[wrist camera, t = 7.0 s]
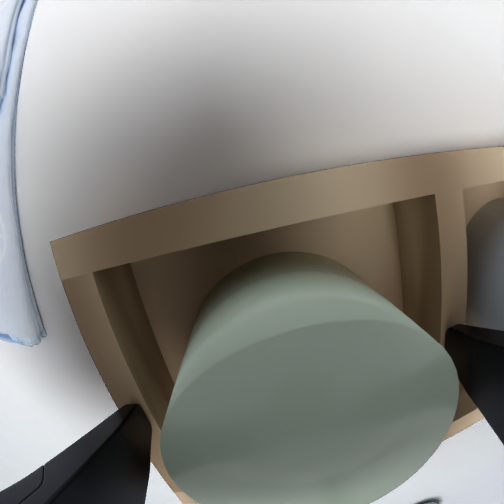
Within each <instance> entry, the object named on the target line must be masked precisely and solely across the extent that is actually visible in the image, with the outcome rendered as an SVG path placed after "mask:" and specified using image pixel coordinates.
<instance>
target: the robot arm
mask: <svg viewBox="0 0 504 504" xmlns="http://www.w3.org/2000/svg"><path fill="white" fill-rule="evenodd" d="M445 350H446V351H447V353H448V354H449V355H450V357H451V358H452V361H453V363H454V365H455V368H456V371H457V375H458V379H459V381H460V383H461V384H462V386H463V388H464V389H465V391H466V393H467V394H468V395H469V397H470V398H471V400H472V401H473V402H474V404H475V405H476V406H477V408H478V409H479V411H480V412H481V413H482V415H483V416H484V417H485V419H486V420H487V422H488V423H489V424H490V426H491V427H492V429H493V430H494V432H495V433H496V434H497V436H498V437H499V439H500V440H501V442H502V443H503V445H504V331H502V330H495V329H489V328H483V327H476V326H470V325H464V324H456V325H454V326H451V327H449V328H448V329H447V331H446V338H445ZM151 441H152V426H151V424H150V422H149V420H148V418H147V416H146V414H145V412H144V411H143V409H142V407H141V406H140V405H139V404H137V403H134V404H125V405H124V406H122V407H121V408H120V409H119V410H117V411H116V412H115V413H113V414H112V415H111V416H109V417H108V418H107V419H105V420H104V421H103V422H101V423H100V424H99V425H98V426H96V427H95V428H94V429H92V430H91V431H90V432H88V433H87V434H85V435H84V436H83V437H81V438H80V439H79V440H77V441H76V442H75V443H73V444H72V445H71V446H69V447H68V448H66V449H65V450H64V451H62V452H61V453H60V454H58V455H57V456H55V457H54V458H53V459H51V460H50V461H48V462H47V463H46V464H45V465H44V466H41V467H40V468H38V469H37V470H36V471H34V472H33V473H31V474H30V475H28V476H27V477H25V478H23V479H22V480H20V481H18V482H17V483H15V484H13V485H12V486H10V487H8V488H6V489H4V490H2V491H1V492H0V504H145V499H146V492H147V486H148V480H149V473H150V458H151Z"/></svg>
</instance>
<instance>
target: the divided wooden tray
mask: <svg viewBox="0 0 504 504" xmlns="http://www.w3.org/2000/svg"><path fill="white" fill-rule="evenodd" d="M497 198H504V146H503V147H490V148H478V149H467V150H457V151H448V152H439V153H430V154H422V155H415V156H407V157H400V158H393V159H386V160H380V161H373V162H367V163H361V164H355V165H349V166H343V167H338V168H332V169H326V170H321V171H316V172H311V173H305V174H300V175H295V176H290V177H286V178H281V179H276V180H271V181H267V182H262V183H258V184H253V185H249V186H244V187H240V188H236V189H231V190H227V191H223V192H219V193H215V194H211V195H207V196H203V197H199V198H195V199H191V200H187V201H183V202H179V203H176V204H172V205H168V206H165V207H161V208H157V209H154V210H150V211H147V212H143V213H140V214H136V215H133V216H129V217H126V218H123V219H119V220H116V221H113V222H109V223H106V224H103V225H100V226H97V227H93V228H90V229H87V230H84V231H81V232H78V233H75V234H72V235H69V236H66V237H63V238H60V239H57V240H54V241H51V242H50V245H51V248H52V252H53V255H54V259H55V262H56V265H57V268H58V272H59V275H60V278H61V281H62V284H63V287H64V290H65V293H66V295H67V298H68V301H69V304H70V306H71V309H72V312H73V314H74V317H75V319H76V322H77V324H78V327H79V329H80V332H81V334H82V336H83V339H84V341H85V343H86V346H87V348H88V350H89V352H90V354H91V357H92V359H93V361H94V363H95V365H96V367H97V369H98V371H99V373H100V375H101V377H102V379H103V381H104V383H105V385H106V387H107V389H108V391H109V393H110V395H111V397H112V398H113V400H114V402H115V404H116V406H117V408H118V409H120V408H121V407H122V406H124V405H125V404H134V403H137V404H139V405H140V406H141V407H142V409H143V411H144V412H145V414H146V416H147V418H148V420H149V422H150V424H151V426H152V441H151V458H150V460H151V462H152V463H153V465H154V466H155V468H156V469H157V470H158V472H159V473H160V475H161V476H162V477H163V479H164V480H165V481H166V483H167V484H168V485H169V487H170V488H171V489H172V490H173V492H174V493H175V494H176V496H177V497H178V498H179V499H180V501H181V502H182V503H183V504H199V503H197V502H196V501H194V500H193V499H191V498H190V497H189V496H188V495H187V494H185V493H184V492H183V491H182V490H181V489H180V488H179V487H178V486H177V485H176V483H175V482H174V481H173V480H172V478H171V477H170V475H169V473H168V472H167V470H166V468H165V465H164V462H163V460H162V457H161V449H160V438H161V430H162V426H163V423H164V419H165V416H166V412H167V409H168V406H169V402H170V399H171V396H172V392H173V389H174V386H175V383H176V379H177V376H178V373H179V370H180V366H181V363H182V360H183V357H184V354H185V350H186V347H187V344H188V341H189V338H190V335H191V332H192V328H193V325H194V322H195V319H196V316H197V314H198V311H199V309H200V307H201V305H202V303H203V301H204V299H205V298H206V296H207V295H208V294H209V292H210V291H211V290H212V288H213V287H214V286H215V285H216V284H217V283H218V282H219V281H220V280H221V279H222V278H224V277H225V276H226V275H227V274H229V273H230V272H231V271H233V270H234V269H236V268H238V267H239V266H241V265H243V264H244V263H247V262H249V261H251V260H254V259H256V258H259V257H262V256H266V255H269V254H275V253H281V252H307V253H313V254H318V255H322V256H325V257H328V258H330V259H333V260H335V261H337V262H339V263H340V264H342V265H344V266H346V267H347V268H348V269H350V270H351V271H352V272H353V273H355V274H356V275H357V276H358V277H360V278H361V279H362V280H363V281H365V282H366V283H367V284H368V285H370V286H371V287H372V288H373V289H375V290H376V291H377V292H378V293H380V294H381V295H382V296H383V297H385V298H386V299H387V300H388V301H389V302H391V303H392V304H393V305H394V306H396V307H397V308H398V309H399V310H400V311H402V312H403V313H404V314H405V315H406V316H408V317H409V318H410V319H411V320H412V321H414V322H415V323H416V324H417V325H418V326H419V327H421V328H422V329H423V330H424V331H425V332H427V333H428V334H429V335H430V336H431V337H432V338H434V339H435V340H436V341H437V342H438V343H439V344H440V345H442V346H443V347H444V349H445V338H446V331H447V329H448V328H449V327H451V326H454V325H456V324H464V325H465V322H466V307H467V237H466V226H467V224H468V223H469V221H470V220H471V218H472V217H473V216H474V215H475V213H476V212H477V211H478V210H479V209H480V208H481V207H482V206H484V205H485V204H486V203H488V202H490V201H492V200H494V199H497ZM458 380H459V379H458ZM483 418H484V416H483V415H482V413H481V412H480V411H479V409H478V408H477V406H476V405H475V404H474V402H473V401H472V400H471V398H470V397H469V395H468V394H467V393H466V391H465V389H464V388H463V386H462V384H461V383H460V381H459V397H458V404H457V409H456V412H455V415H454V419H453V421H452V423H451V426H450V428H449V430H448V432H447V434H446V436H445V437H444V439H443V441H444V440H446V439H447V438H449V437H451V436H453V435H455V434H457V433H459V432H460V431H462V430H464V429H466V428H468V427H469V426H471V425H473V424H474V423H476V422H478V421H479V420H481V419H483Z"/></svg>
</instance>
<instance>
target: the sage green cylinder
mask: <svg viewBox="0 0 504 504" xmlns="http://www.w3.org/2000/svg"><path fill="white" fill-rule="evenodd" d="M458 397H459V380H458V375H457V371H456V368H455V365H454V363H453V361H452V358H451V357H450V355H449V354H448V353H447V351H446V350H445V349H444V347H443V346H442V345H440V344H439V343H438V342H437V341H436V340H435V339H434V338H432V337H431V336H430V335H429V334H428V333H427V332H425V331H424V330H423V329H422V328H421V327H419V326H418V325H417V324H416V323H415V322H414V321H412V320H411V319H410V318H409V317H408V316H406V315H405V314H404V313H403V312H402V311H400V310H399V309H398V308H397V307H396V306H394V305H393V304H392V303H391V302H389V301H388V300H387V299H386V298H385V297H383V296H382V295H381V294H380V293H378V292H377V291H376V290H375V289H373V288H372V287H371V286H370V285H368V284H367V283H366V282H365V281H363V280H362V279H361V278H360V277H358V276H357V275H356V274H355V273H353V272H352V271H351V270H350V269H348V268H347V267H346V266H344V265H342V264H340V263H339V262H337V261H335V260H333V259H330V258H328V257H325V256H322V255H318V254H313V253H307V252H281V253H275V254H269V255H266V256H262V257H259V258H256V259H254V260H251V261H249V262H247V263H244V264H243V265H241V266H239V267H238V268H236V269H234V270H233V271H231V272H230V273H229V274H227V275H226V276H225V277H224V278H222V279H221V280H220V281H219V282H218V283H217V284H216V285H215V286H214V287H213V288H212V290H211V291H210V292H209V294H208V295H207V296H206V298H205V299H204V301H203V303H202V305H201V307H200V309H199V311H198V314H197V316H196V319H195V322H194V325H193V328H192V332H191V335H190V338H189V341H188V344H187V347H186V350H185V354H184V357H183V360H182V363H181V366H180V370H179V373H178V376H177V379H176V383H175V386H174V389H173V392H172V396H171V399H170V402H169V406H168V409H167V412H166V416H165V419H164V423H163V426H162V430H161V438H160V449H161V457H162V460H163V462H164V465H165V468H166V470H167V472H168V473H169V475H170V477H171V478H172V480H173V481H174V482H175V483H176V485H177V486H178V487H179V488H180V489H181V490H182V491H183V492H184V493H185V494H187V495H188V496H189V497H190V498H191V499H193V500H194V501H196V502H197V503H199V504H369V503H372V502H374V501H375V500H377V499H379V498H381V497H383V496H384V495H386V494H388V493H389V492H391V491H392V490H394V489H395V488H397V487H398V486H400V485H401V484H402V483H404V482H405V481H406V480H408V479H409V478H410V477H411V476H412V475H413V474H415V473H416V472H417V471H418V470H419V469H420V468H421V467H422V466H423V465H424V464H425V463H426V462H427V461H428V459H429V458H430V457H431V456H432V455H433V453H434V452H435V451H436V449H437V448H438V447H439V445H440V444H441V442H442V441H443V439H444V437H445V436H446V434H447V432H448V430H449V428H450V426H451V423H452V421H453V419H454V415H455V412H456V409H457V404H458Z"/></svg>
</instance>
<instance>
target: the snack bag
mask: <svg viewBox="0 0 504 504" xmlns="http://www.w3.org/2000/svg"><path fill="white" fill-rule="evenodd" d="M37 2H38V0H0V340H3V341H7V342H14V343H19V344H23V345H26V346H30V347H32V345H37V344H39V343H40V342H41V337H45V336H46V332H45V330H44V328H43V325H42V322H41V319H40V315H39V312H38V309H37V306H36V302H35V298H34V295H33V291H32V287H31V284H30V280H29V277H28V273H27V269H26V264H25V259H24V253H23V248H22V241H21V235H20V229H19V222H18V215H17V206H16V193H15V170H14V147H15V125H16V109H17V100H18V92H19V85H20V78H21V72H22V66H23V60H24V54H25V49H26V44H27V40H28V36H29V31H30V27H31V23H32V19H33V16H34V12H35V9H36V5H37Z"/></svg>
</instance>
